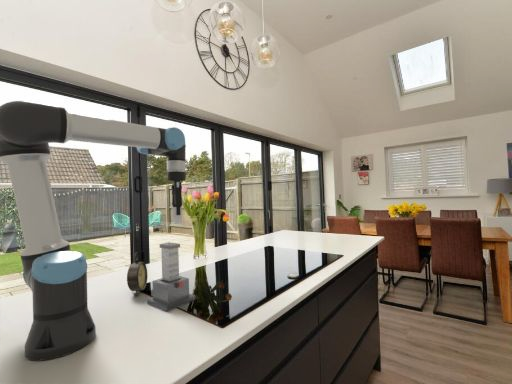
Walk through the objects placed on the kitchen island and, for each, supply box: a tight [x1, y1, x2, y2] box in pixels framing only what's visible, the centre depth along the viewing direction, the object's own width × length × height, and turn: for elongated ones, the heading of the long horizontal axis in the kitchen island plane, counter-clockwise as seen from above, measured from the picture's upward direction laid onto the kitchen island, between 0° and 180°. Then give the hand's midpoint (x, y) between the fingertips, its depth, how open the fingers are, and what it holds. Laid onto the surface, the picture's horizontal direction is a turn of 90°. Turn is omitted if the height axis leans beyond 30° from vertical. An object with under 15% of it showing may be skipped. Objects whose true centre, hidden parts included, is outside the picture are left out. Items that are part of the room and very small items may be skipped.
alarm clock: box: [126, 251, 148, 297], centre depth 106 cm, size 11×5×16 cm, turn 5°
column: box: [159, 242, 181, 283], centre depth 96 cm, size 4×6×19 cm
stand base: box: [146, 275, 196, 313], centre depth 96 cm, size 12×12×8 cm
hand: (176, 222), depth 110 cm, fingers open, 13 cm apart
